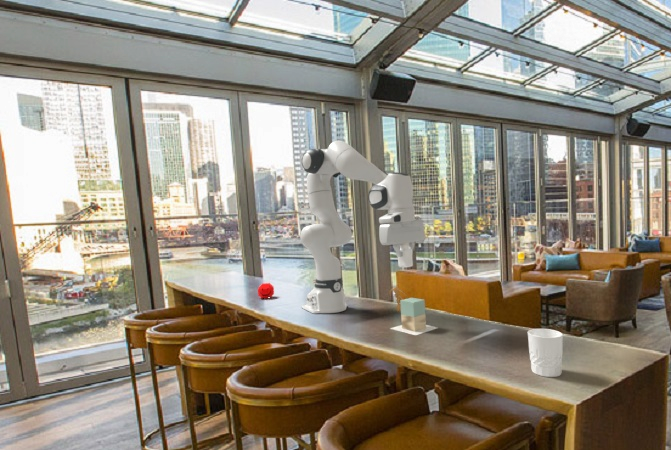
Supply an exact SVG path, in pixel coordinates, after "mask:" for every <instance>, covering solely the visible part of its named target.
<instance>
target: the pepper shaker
mask: <svg viewBox="0 0 671 450" xmlns="http://www.w3.org/2000/svg"><path fill="white" fill-rule="evenodd" d="M399 248H400V250H401V252H403V256H402V257H397V263H398V268H411V267H413V266H414V260H413V255H412V250H411V249H409V243H408V242H407V243H401V244H400V247H399Z"/></svg>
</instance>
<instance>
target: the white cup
mask: <svg viewBox="0 0 671 450" xmlns="http://www.w3.org/2000/svg"><path fill="white" fill-rule="evenodd" d="M527 339H528V352H529V361H530V368H531V371H532V373H534V374H535V375H538V376H541V377H547V378H556V377H560V376H561V375H562V373H563V372H562V371H563V368H562V367H563V365H562V364H563V344H564V343H563V341H564V336H563V332H560V331H558V330H555V329H549V328H532V329H531V328H530V329H529V330H528V331H527Z"/></svg>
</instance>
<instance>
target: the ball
mask: <svg viewBox="0 0 671 450" xmlns="http://www.w3.org/2000/svg"><path fill="white" fill-rule="evenodd" d="M274 289H275V288H274V285H272V284H271V283H270V282H264V283H262V284H260V285H259V287H258V288H257V295H258V296H259V297H260V298H261V299H262V298H268V297H271V298H272V297H273V295H274V294H275V290H274Z"/></svg>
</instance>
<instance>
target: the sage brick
mask: <svg viewBox="0 0 671 450" xmlns="http://www.w3.org/2000/svg"><path fill="white" fill-rule="evenodd" d="M399 303H400V304H401V312H400V315H401V314H402V315H406V316H411V317H416V316H420V315H423V314H426V301H425V299H423V298H422V299H421V298H415V297H409V298H408V297H407V298H405V299H402V300H400V299H399Z"/></svg>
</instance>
